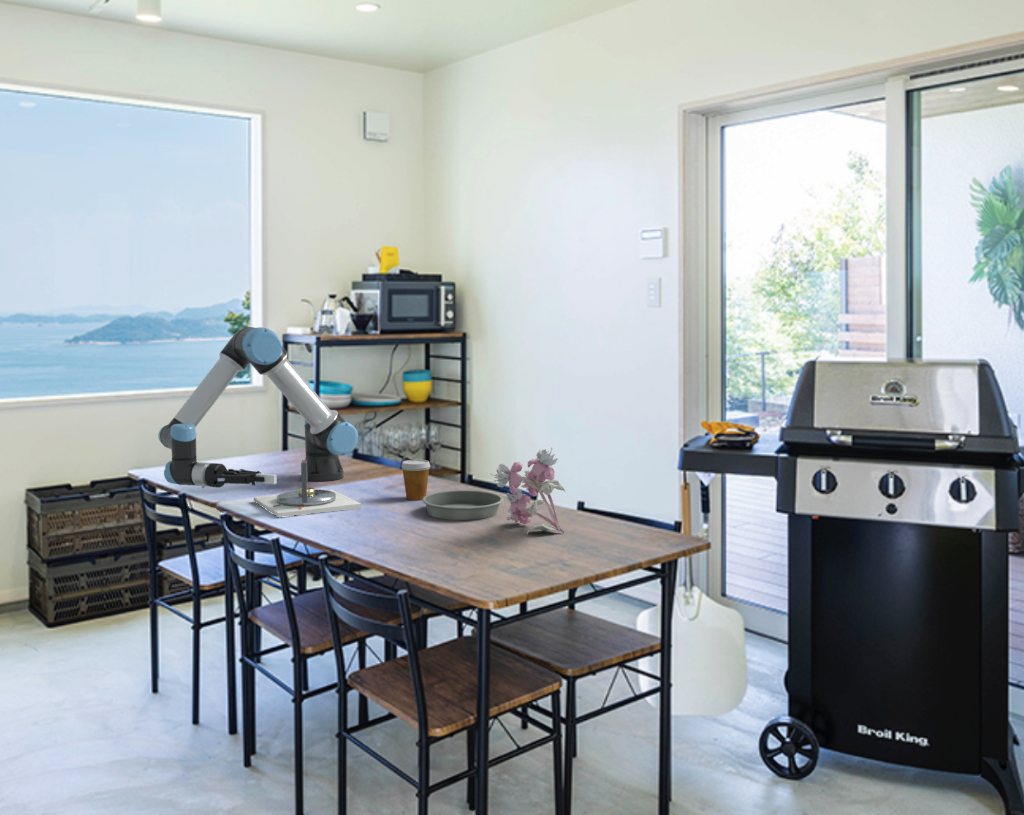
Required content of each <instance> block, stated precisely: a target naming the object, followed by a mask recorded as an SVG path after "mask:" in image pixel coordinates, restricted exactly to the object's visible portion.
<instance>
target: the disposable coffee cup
mask: <svg viewBox="0 0 1024 815" xmlns="http://www.w3.org/2000/svg"><path fill="white" fill-rule="evenodd" d="M400 467H401V470H402V475H403V482H404V489H405V490H404V491H405V497H406V498H405V499H407V500H409V501H422V499H423V497H425V496H427V491H428V481H429V474H430V472H429V471H430V468H431V464H430V461H429V460H426V459H409V460H408V459H407V460H403V461H402V463H401V466H400Z"/></svg>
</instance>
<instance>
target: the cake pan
mask: <svg viewBox="0 0 1024 815" xmlns="http://www.w3.org/2000/svg"><path fill="white" fill-rule="evenodd" d="M421 501H422V502H423V504H425V506H426V510H427V514H428V515H429V516H432V517H433V518H438V519H443V520H454V521H456V520H457V521H459V520H460V521H461V520H463V521H466V520H478V519H479V520H481V519H485V518H490V517H493V516H495V515H497V514H498V512H499V507H500V504H501V503H503V501H504V498H503V496H501V495H500V494H498V493H494V492H489V491H481V490H469V489H468V490H465V489H462V490H461V489H460V490H447V491H438V492H433V493H430V494H426V496H425V497H423V499H422V500H421Z"/></svg>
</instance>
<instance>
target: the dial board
mask: <svg viewBox="0 0 1024 815" xmlns="http://www.w3.org/2000/svg"><path fill="white" fill-rule="evenodd" d="M326 490H327V491H332V492H334V493H335V494H336V499H335V500H334V501H332V502H329V503H325V504H320V505H310V506H292V505H284V504H280V503H278V502H277V496H278V495H279V494H273V495H265V496H256V497H253V502H254V501H255V502H257V503H258V504H260V505H261V506H263V507H264V508H266V509H267V510H268V511H270V512H272V513H273V514H274V515H276V516H277V517H282V516H293V517H295V516H294V515H302V514H310V513H319V512H327V513H332V512H331V511H335V512H341V511H340V510H344V511H350V510H358V509H359V510H360V509H362V503H361V502H358V501H357V500H355V499H353V498H350V497H348V496H346V495H344V494H342V493H340V492H339V491H336V490H335V489H326ZM255 502H254V503H255ZM258 504H257V505H258ZM261 506H260V507H261ZM264 508H263V509H264ZM267 510H266V511H267ZM268 511H267V512H268ZM329 511H330V512H329ZM270 512H269V513H270ZM273 514H272V515H273ZM319 514H320V513H319ZM274 515H273V516H274ZM310 515H311V514H310ZM276 516H275V517H276ZM302 516H303V515H302ZM277 517H276V518H277Z"/></svg>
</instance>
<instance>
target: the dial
mask: <svg viewBox="0 0 1024 815" xmlns="http://www.w3.org/2000/svg"><path fill="white" fill-rule="evenodd" d="M300 472H301V473H300V478H301V487H299V488H298V489H296V490H290V491H289V490H288V491H285V492H282V493H279V494H277V495H278V496H277V502H278V503H280V504H284V505H292V506H310V505H320V504H325V503H329V502H332V501H334V500H335V499H336V494H335V493H334V492H332V491H327V490H328V489H315V487H311V486H310V487H309V483H308V482H309V481H308V474H307V460H305V459H302V460H301V463H300Z"/></svg>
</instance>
